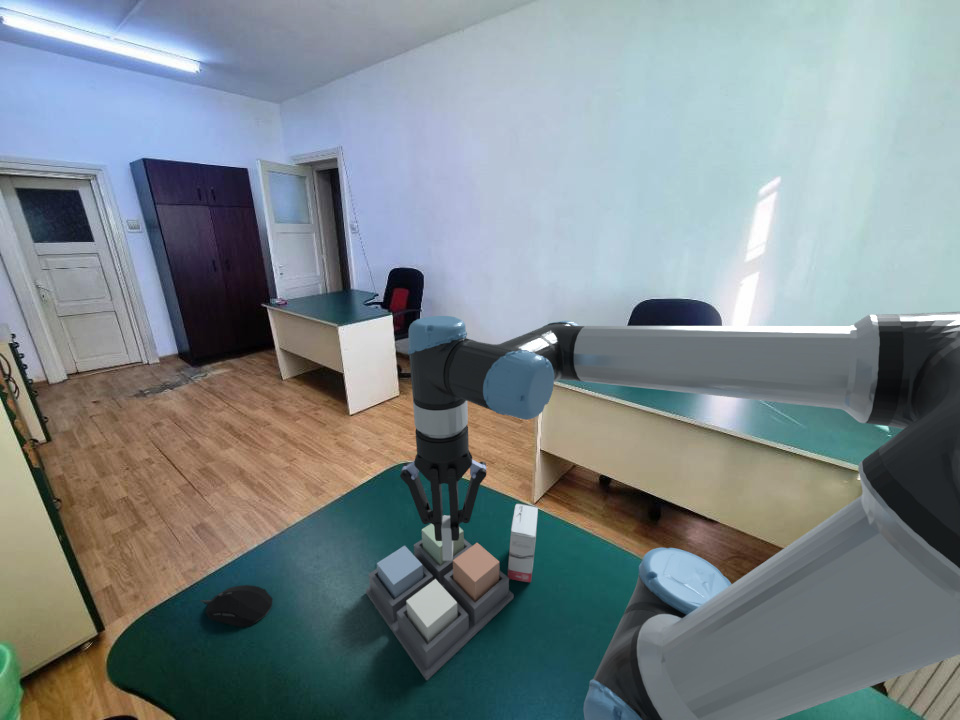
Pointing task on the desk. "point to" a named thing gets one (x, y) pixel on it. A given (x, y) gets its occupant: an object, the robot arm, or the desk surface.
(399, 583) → the key slate
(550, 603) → the desk surface
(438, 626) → the key ivory
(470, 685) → the desk surface
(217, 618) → the gaming mouse
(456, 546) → the key sage
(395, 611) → the keypad
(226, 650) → the desk surface
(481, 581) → the key terracotta
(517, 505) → the ink box
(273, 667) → the desk surface
